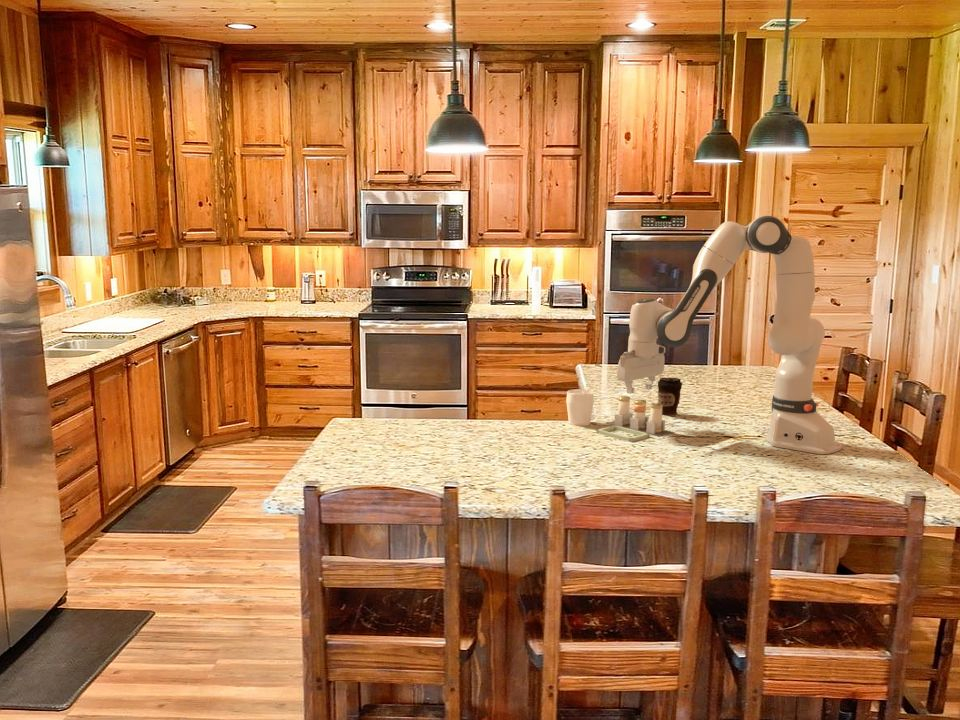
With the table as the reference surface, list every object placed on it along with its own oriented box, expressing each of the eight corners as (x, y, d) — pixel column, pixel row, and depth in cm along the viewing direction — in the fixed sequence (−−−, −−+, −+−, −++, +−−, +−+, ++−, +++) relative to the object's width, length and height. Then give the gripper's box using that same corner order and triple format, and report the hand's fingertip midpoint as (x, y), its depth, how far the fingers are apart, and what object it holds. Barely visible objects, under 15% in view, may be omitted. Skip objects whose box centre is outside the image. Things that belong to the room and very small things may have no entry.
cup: (561, 428, 284) (562, 393, 282) (571, 422, 292) (572, 388, 290) (587, 432, 280) (588, 396, 278) (596, 425, 288) (597, 390, 286)
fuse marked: (647, 427, 280) (648, 400, 278) (640, 429, 277) (641, 402, 276) (638, 425, 282) (639, 398, 281) (631, 427, 280) (632, 400, 278)
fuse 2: (663, 431, 275) (664, 404, 273) (656, 433, 273) (657, 406, 271) (654, 429, 278) (655, 402, 276) (647, 431, 275) (648, 404, 274)
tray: (649, 441, 269) (649, 433, 269) (631, 446, 263) (631, 438, 263) (614, 432, 280) (614, 425, 279) (596, 437, 274) (596, 429, 273)
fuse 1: (631, 424, 284) (632, 397, 283) (624, 425, 282) (625, 399, 280) (622, 421, 287) (623, 395, 286) (615, 423, 285) (616, 397, 283)
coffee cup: (673, 418, 298) (675, 382, 296) (651, 415, 303) (653, 379, 300) (684, 414, 305) (686, 378, 302) (662, 410, 310) (664, 375, 307)
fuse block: (674, 436, 275) (675, 421, 274) (659, 441, 269) (659, 425, 269) (620, 423, 291) (620, 409, 290) (604, 427, 286) (605, 413, 285)
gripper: (629, 354, 266) (626, 397, 269) (668, 347, 280) (666, 388, 282) (613, 351, 271) (611, 393, 273) (653, 344, 284) (650, 385, 287)
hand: (639, 391), depth 278 cm, fingers open, 8 cm apart
